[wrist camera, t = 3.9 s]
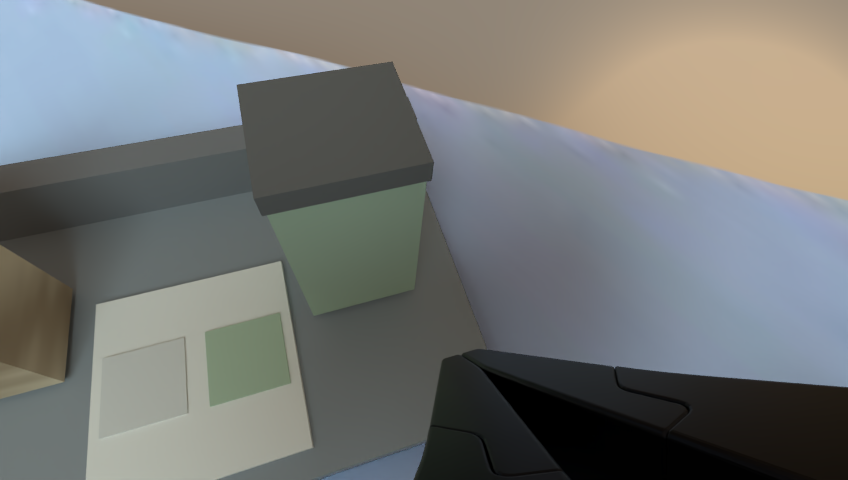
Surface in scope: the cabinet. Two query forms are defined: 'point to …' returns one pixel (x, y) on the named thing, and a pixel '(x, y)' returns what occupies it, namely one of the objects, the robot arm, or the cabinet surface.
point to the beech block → (31, 326)
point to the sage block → (339, 180)
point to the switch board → (210, 328)
